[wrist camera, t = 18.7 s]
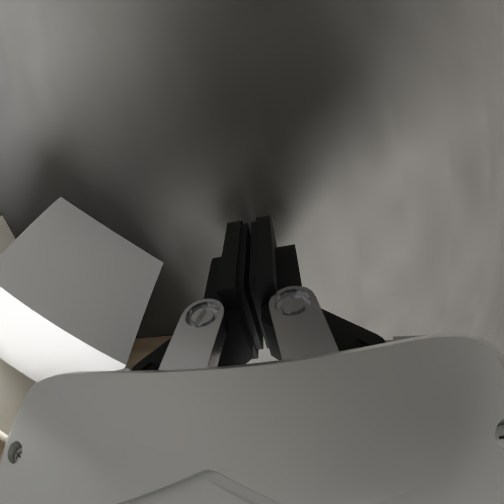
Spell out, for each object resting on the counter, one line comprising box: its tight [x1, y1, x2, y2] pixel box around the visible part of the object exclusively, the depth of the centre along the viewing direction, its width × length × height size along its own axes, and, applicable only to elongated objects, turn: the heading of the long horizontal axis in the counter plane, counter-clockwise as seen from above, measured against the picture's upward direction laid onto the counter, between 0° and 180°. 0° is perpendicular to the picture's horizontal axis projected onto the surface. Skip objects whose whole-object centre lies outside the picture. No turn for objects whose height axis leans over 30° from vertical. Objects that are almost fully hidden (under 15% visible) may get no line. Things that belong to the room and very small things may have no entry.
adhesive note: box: [0, 197, 163, 382], centre depth 12 cm, size 6×6×6 cm
